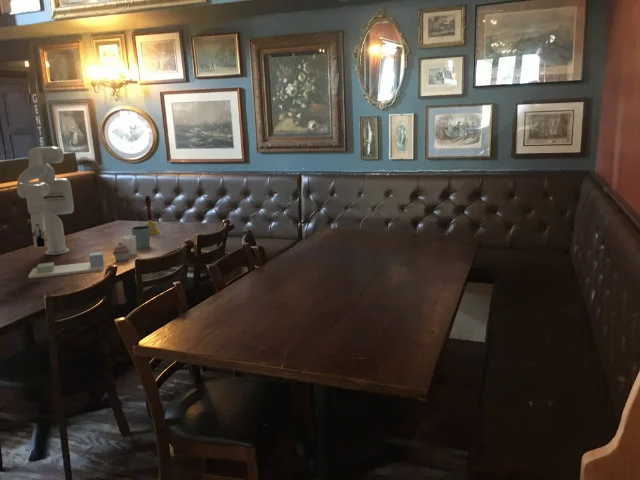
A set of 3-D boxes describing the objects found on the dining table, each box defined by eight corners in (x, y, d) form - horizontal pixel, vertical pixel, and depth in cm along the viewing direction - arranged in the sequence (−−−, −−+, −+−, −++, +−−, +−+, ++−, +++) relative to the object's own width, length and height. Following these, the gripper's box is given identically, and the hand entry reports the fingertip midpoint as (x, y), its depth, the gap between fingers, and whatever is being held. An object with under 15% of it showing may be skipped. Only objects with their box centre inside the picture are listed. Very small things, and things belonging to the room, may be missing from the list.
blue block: (91, 264, 279) (89, 253, 278) (103, 262, 281) (102, 251, 280) (90, 267, 274) (89, 255, 272) (103, 265, 276) (101, 254, 274)
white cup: (132, 256, 297) (130, 238, 295) (120, 255, 299) (117, 238, 297) (140, 252, 305) (138, 235, 303) (127, 252, 307) (125, 235, 304)
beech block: (36, 245, 269) (34, 233, 267) (49, 244, 271) (48, 232, 269) (34, 248, 263) (32, 236, 262) (48, 246, 265) (46, 235, 264)
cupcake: (109, 262, 287) (107, 244, 285) (121, 257, 296) (119, 239, 293) (123, 263, 284) (121, 245, 281) (135, 258, 292) (133, 240, 290)
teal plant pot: (130, 248, 314) (127, 228, 312) (141, 244, 323) (139, 225, 321) (143, 249, 311) (141, 229, 308) (155, 245, 320) (153, 226, 317)
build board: (33, 270, 275) (32, 262, 274) (104, 262, 286) (103, 255, 285) (28, 278, 261) (27, 270, 260) (103, 270, 272) (101, 262, 271)
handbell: (146, 231, 360) (142, 194, 354) (164, 231, 358) (160, 194, 352) (138, 235, 348) (133, 197, 342) (156, 235, 346) (152, 197, 340)
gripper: (31, 207, 269) (36, 242, 274) (24, 212, 253) (30, 249, 258) (47, 206, 272) (52, 240, 276) (42, 211, 256) (47, 248, 260)
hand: (42, 244), depth 267 cm, fingers closed on beech block, 6 cm apart
